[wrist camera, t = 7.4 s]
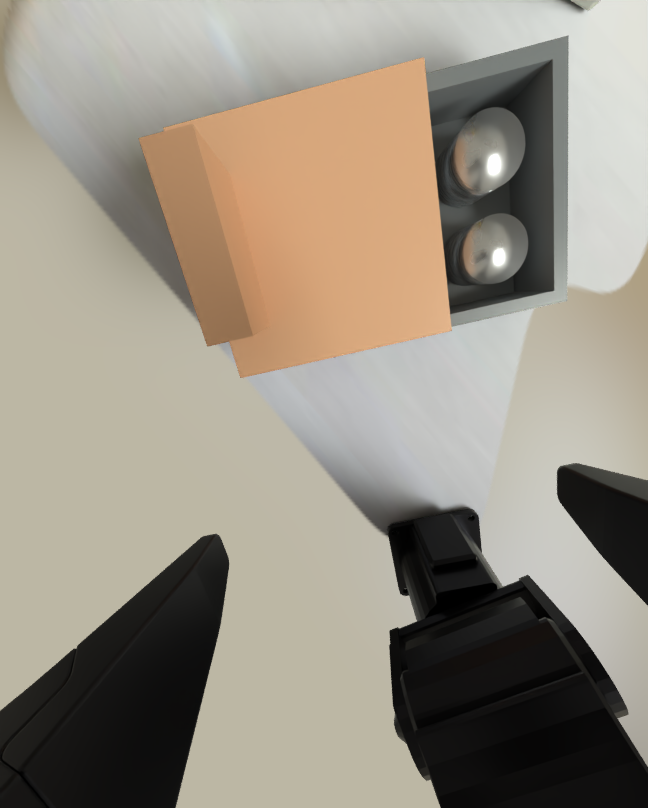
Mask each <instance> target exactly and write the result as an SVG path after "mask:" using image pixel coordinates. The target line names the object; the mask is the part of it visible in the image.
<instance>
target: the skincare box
mask: <svg viewBox="0 0 648 808" xmlns="http://www.w3.org/2000/svg"><path fill="white" fill-rule="evenodd" d="M571 1H572V2H574V3H575V4H577V5H579V6H580V7H582V8H584V9H586V10H591V9H592V8H593V7H595V6H596V5H597V4H598V3H599V2H600V1H601V0H571Z"/></svg>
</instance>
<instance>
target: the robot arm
mask: <svg viewBox="0 0 648 808" xmlns="http://www.w3.org/2000/svg"><path fill="white" fill-rule="evenodd" d="M557 495H558V499H559V501H560V503H561V504H562V506H563V507H564V508H565V509H566V511H567V512H568V513H569V515H570V516H571V517H572V518H573V520H574V521H575V522H576V524H577V525H578V526H579V528H580V529H581V530H582V531H583V533H584V534H585V535H586V537H587V538H588V539H589V540H590V542H591V543H592V544H593V546H594V547H595V548H596V549H597V551H598V552H599V553H600V554H601V555H602V557H603V558H604V559H605V560H606V561H607V562H608V563H609V565H610V566H611V567H612V568H613V569H614V570H615V571H616V572H617V573H618V574H619V575H620V576H621V577H622V579H623V580H624V581H625V582H626V583H627V584H628V585H629V586H630V587H631V588H632V589H633V590H634V591H635V592H636V593H637V595H638V596H639V597H640V598H641V599H642V600H643V601H644V602H645V603H646V604H647V605H648V480H643V479H639V478H635V477H631V476H627V475H623V474H619V473H615V472H611V471H607V470H603V469H599V468H595V467H591V466H586V465H582V464H577V463H573V464H569V465H564V466H560V467H559V468H558V470H557ZM471 515H472V517H470V518H468V517H469V516H471ZM394 530H397V531H396V532H393V531H394ZM387 531H388V536H389V541H390V546H391V552H392V556H393V561H394V567H395V572H396V577H397V582H398V587H399V591H400V594H402V595H405V596H408V595H409V596H410V599H411V603H412V606H413V609H414V613H415V616H416V619H417V622H415V623H412V624H410V625H407V626H405V627H402V628H400V629H399V628H398V627H397V628H395V629H392V630H390V643H391V644H390V646H389V648H390V664H391V680H392V696H393V707H394V711H395V718H394V726H395V730H396V732H397V735H398V737H399V738H400V739H401V740H403V741H404V742H405V743H406V744H407V746H408V748H409V750H410V753H411V756H412V758H413V760H414V762H415V764H416V767H417V769H418V771H419V772H420V774H421V775H422V777H423V778H424V779H425V780H431V781H432V784H433V787H434V790H435V793H436V796H437V799H438V801H439V804H440V807H441V808H648V767H647V765H646V764H645V762H644V760H643V759H642V757H641V756H640V754H639V753H638V751H637V749H636V748H635V746H634V744H633V743H632V741H631V740H630V738H629V736H628V735H627V733H626V732H625V730H624V728H623V727H622V725H621V724H620V722H619V721H618V719H617V718H620V717H623V716H626V715H628V710H627V707H626V705H625V703H624V701H623V699H622V697H621V695H620V694H619V692H618V690H617V688H616V686H615V685H614V683H613V681H612V680H611V678H610V677H609V675H608V674H607V672H606V671H605V669H604V667H603V666H602V664H601V663H600V661H599V660H598V658H597V657H596V655H595V654H594V652H593V651H592V650H591V648H590V647H589V645H588V644H587V643H586V641H585V640H584V638H583V637H582V636H581V635H580V633H579V632H578V631H577V629H576V628H575V627H574V626H573V625H572V624H571V622H570V621H569V620H568V619H567V618H566V617H565V615H564V614H563V613H562V612H561V611H560V610H559V609H558V608H557V607H556V605H555V604H554V603H553V602H552V601H551V600H550V599H549V598H548V596H547V595H546V594H545V593H544V592H543V591H542V590H541V589H540V588H539V586H538V585H536V583H535V582H534V581H533V580H532V579H531V578H530V576H528V575H526V576H524V577H521V578H519V581H517V582H514V583H512V584H509V585H507V586H504V587H503V586H502V584H501V583H500V581H499V580H498V578H497V576H496V575H495V573H494V572H493V570H492V569H491V567H490V565H489V564H488V562H487V561H486V559H485V558H484V556H483V555H482V549H481V538H480V527H479V517H478V515H477V513H476V512H475V511H474V510H472V509H467V510H462V511H457V512H452V513H446V514H441V515H436V516H431V517H426V518H420V519H415V520H410V521H405V522H400V523H395V524H391V525H390V526H389V527H388V528H387ZM228 570H229V559H228V556H227V553H226V550H225V548H224V545H223V543H222V540H221V538H220V536H219V535H217V534H213V535H207V536H203V537H201V538H200V539H199V540H198V541H197V542H196V543H195V544H193V545H192V546H191V547H190V548H189V549H188V550H186V551H185V552H184V553H183V554H182V555H181V556H180V557H178V558H177V559H176V560H175V561H174V562H173V563H172V564H171V565H169V566H168V567H167V568H166V569H165V570H164V571H163V572H161V573H160V574H159V575H158V576H157V577H155V579H153V580H152V581H151V582H150V583H149V584H147V585H146V586H145V587H144V588H143V589H142V590H141V591H140V592H138V593H137V594H136V595H135V596H134V597H133V598H132V599H130V600H129V601H128V602H127V603H126V604H125V605H123V606H122V607H121V608H120V609H119V610H118V611H117V612H116V613H114V614H113V615H112V616H111V617H110V618H109V619H107V620H106V621H105V622H104V623H103V624H102V625H100V626H99V627H98V628H97V629H96V630H95V631H94V632H92V634H90V635H89V636H88V637H87V638H86V639H84V640H83V641H82V642H81V643H80V644H79V645H78V646H77V649H73V650H72V651H70V652H69V653H68V654H67V655H66V656H65V657H64V658H63V659H61V660H60V661H59V662H58V663H57V664H56V665H55V666H53V667H52V668H51V669H50V670H49V671H48V672H46V673H45V674H44V675H43V676H42V677H40V678H39V679H38V680H37V681H36V682H35V683H33V684H32V685H31V686H30V687H29V688H28V689H26V690H25V691H24V692H23V693H22V694H20V695H19V696H18V697H16V698H15V699H14V700H13V701H12V702H10V703H9V704H8V705H7V706H6V707H4V708H3V709H2V710H1V711H0V808H175V807H176V804H177V800H178V796H179V792H180V788H181V783H182V779H183V775H184V771H185V767H186V763H187V759H188V755H189V751H190V747H191V743H192V739H193V735H194V731H195V727H196V723H197V719H198V714H199V711H200V706H201V703H202V698H203V694H204V689H205V686H206V682H207V678H208V674H209V670H210V666H211V662H212V658H213V654H214V650H215V646H216V642H217V638H218V634H219V629H220V624H221V618H222V612H223V605H224V598H225V591H226V584H227V577H228ZM405 588H407V589H405Z"/></svg>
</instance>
